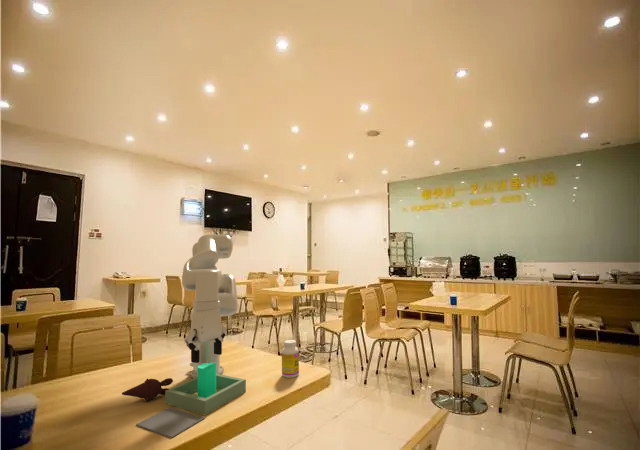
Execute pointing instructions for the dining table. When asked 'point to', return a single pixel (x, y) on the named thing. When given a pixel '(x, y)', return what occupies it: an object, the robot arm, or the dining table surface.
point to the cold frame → (185, 400)
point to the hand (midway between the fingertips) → (206, 358)
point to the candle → (206, 379)
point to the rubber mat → (170, 422)
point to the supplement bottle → (290, 359)
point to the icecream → (149, 389)
